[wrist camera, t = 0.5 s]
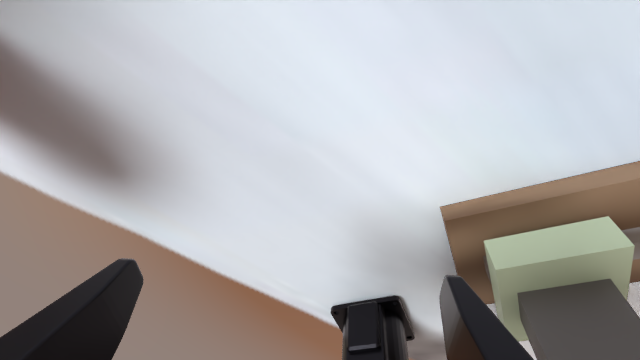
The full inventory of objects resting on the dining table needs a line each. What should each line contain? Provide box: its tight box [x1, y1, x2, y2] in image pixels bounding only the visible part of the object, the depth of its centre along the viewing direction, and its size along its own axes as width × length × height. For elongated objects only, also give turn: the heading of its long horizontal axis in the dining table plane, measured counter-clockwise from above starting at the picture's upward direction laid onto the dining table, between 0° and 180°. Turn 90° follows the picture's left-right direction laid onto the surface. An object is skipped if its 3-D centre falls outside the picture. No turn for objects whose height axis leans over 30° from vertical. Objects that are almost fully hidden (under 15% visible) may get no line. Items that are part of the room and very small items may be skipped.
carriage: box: [484, 216, 640, 360], centre depth 21 cm, size 8×7×7 cm
